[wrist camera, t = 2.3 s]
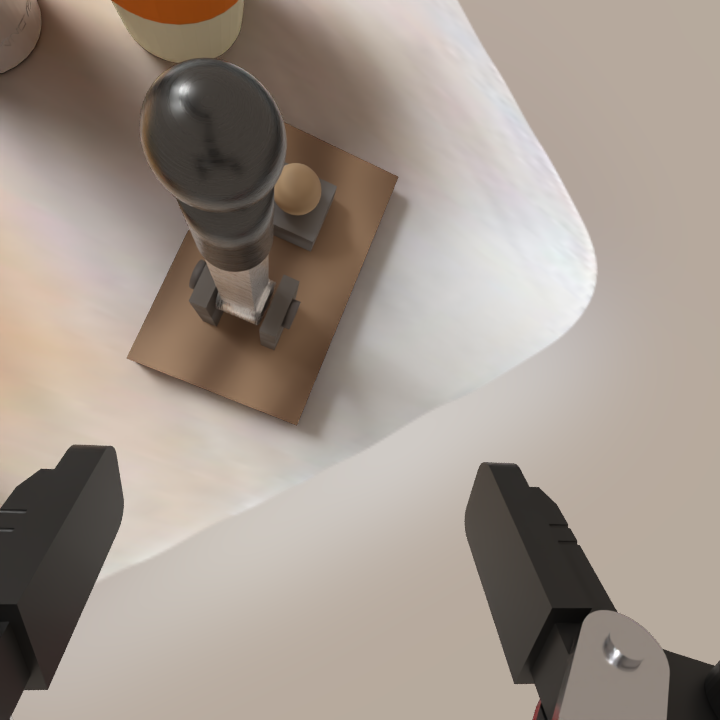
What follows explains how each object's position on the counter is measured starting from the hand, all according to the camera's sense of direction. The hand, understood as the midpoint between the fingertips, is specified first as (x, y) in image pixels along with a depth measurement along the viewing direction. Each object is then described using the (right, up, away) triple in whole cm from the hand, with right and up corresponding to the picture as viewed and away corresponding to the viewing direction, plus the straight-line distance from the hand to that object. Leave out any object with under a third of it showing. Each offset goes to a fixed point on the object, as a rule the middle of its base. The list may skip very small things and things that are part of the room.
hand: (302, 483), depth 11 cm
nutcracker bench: (-5, +10, +26) cm, 28 cm away
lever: (-6, +6, +19) cm, 21 cm away
